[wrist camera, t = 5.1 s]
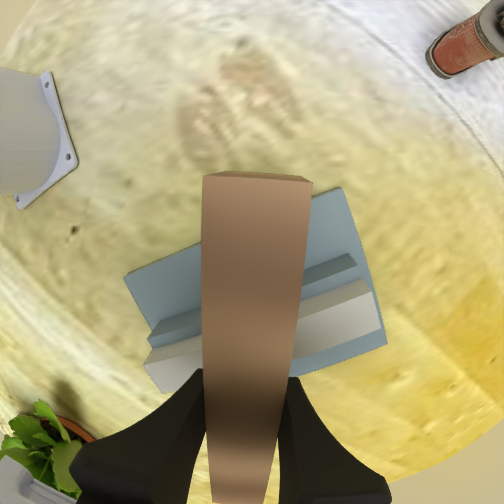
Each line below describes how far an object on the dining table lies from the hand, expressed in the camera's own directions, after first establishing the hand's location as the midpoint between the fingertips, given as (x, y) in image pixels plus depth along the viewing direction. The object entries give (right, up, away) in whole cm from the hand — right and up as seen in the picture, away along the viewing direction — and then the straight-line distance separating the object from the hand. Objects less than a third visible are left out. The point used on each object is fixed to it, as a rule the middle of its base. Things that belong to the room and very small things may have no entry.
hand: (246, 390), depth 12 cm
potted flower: (-23, -19, +17) cm, 34 cm away
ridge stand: (+1, +2, +9) cm, 9 cm away
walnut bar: (0, 0, +2) cm, 2 cm away
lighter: (+16, +21, +3) cm, 27 cm away
